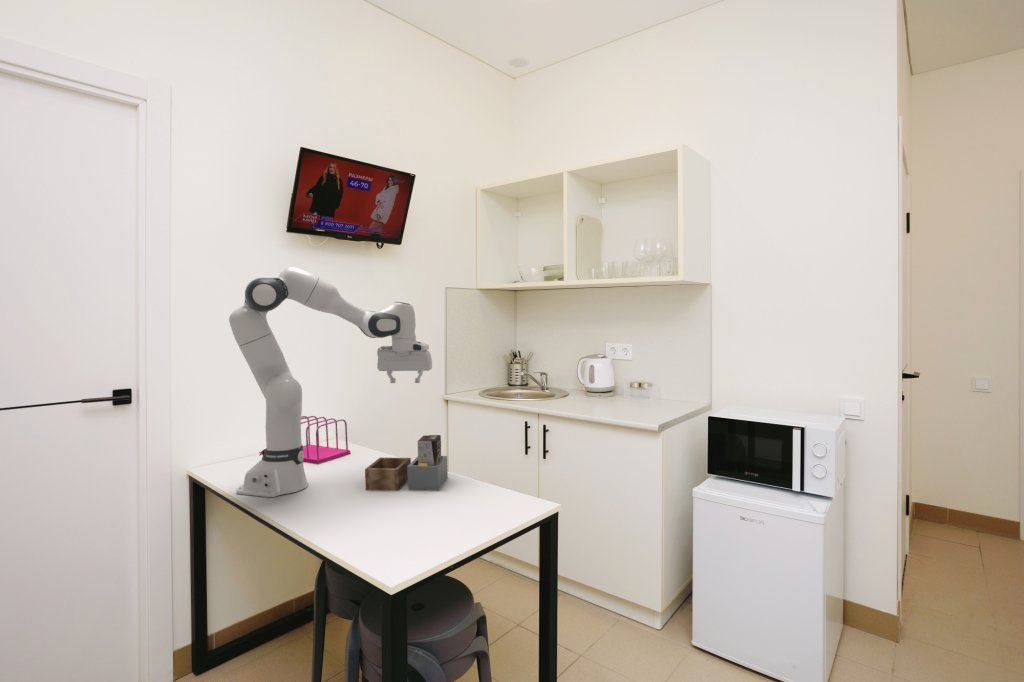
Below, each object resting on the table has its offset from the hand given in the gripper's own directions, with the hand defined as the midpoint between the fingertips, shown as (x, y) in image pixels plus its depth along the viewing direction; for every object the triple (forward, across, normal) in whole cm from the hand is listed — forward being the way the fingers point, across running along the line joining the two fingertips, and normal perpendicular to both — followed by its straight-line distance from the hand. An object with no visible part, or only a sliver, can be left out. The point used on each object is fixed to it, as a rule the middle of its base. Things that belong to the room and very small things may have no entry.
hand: (405, 382), depth 198 cm
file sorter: (+33, -47, +19) cm, 61 cm away
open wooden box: (+33, -2, -15) cm, 36 cm away
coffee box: (+33, +13, -15) cm, 39 cm away
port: (+33, +12, -15) cm, 38 cm away
